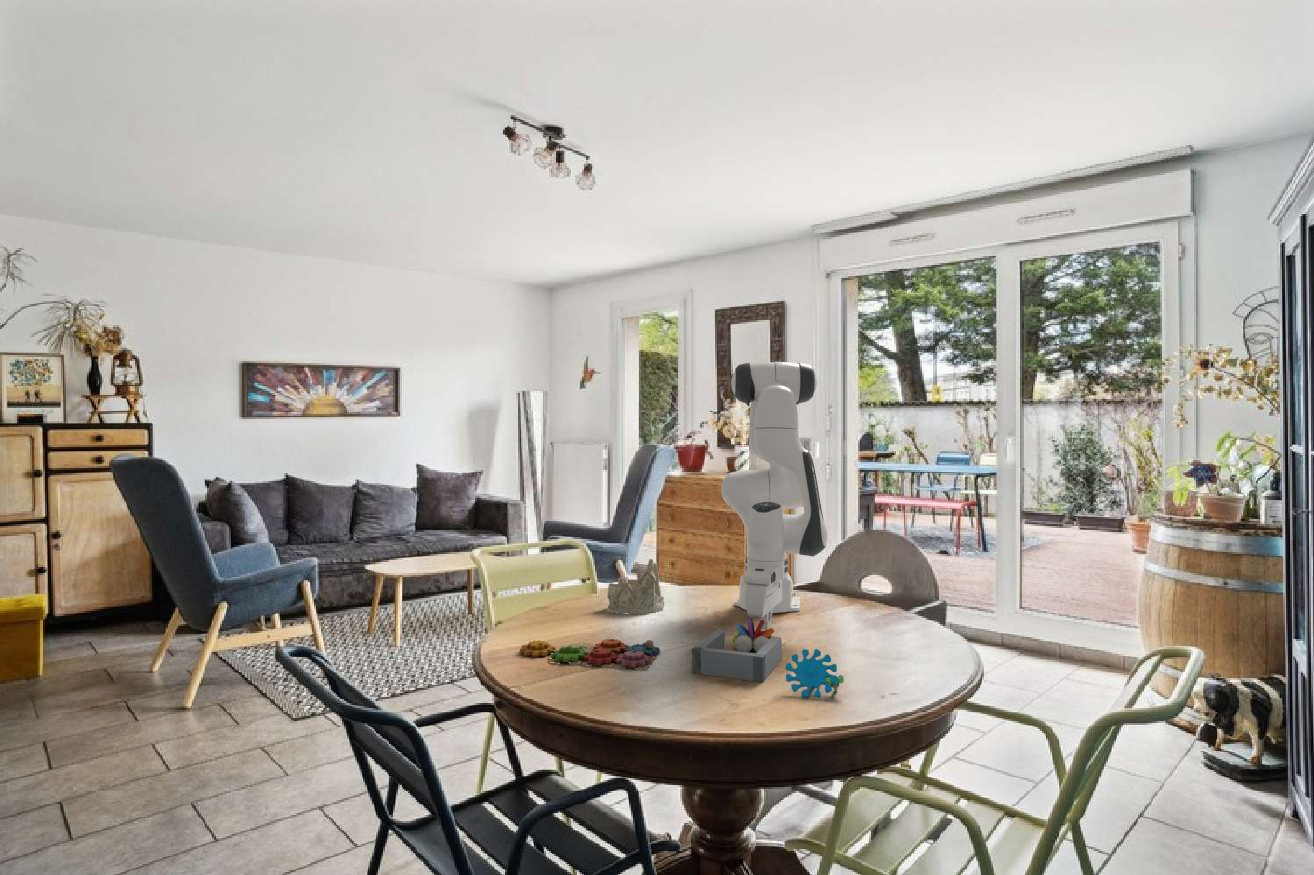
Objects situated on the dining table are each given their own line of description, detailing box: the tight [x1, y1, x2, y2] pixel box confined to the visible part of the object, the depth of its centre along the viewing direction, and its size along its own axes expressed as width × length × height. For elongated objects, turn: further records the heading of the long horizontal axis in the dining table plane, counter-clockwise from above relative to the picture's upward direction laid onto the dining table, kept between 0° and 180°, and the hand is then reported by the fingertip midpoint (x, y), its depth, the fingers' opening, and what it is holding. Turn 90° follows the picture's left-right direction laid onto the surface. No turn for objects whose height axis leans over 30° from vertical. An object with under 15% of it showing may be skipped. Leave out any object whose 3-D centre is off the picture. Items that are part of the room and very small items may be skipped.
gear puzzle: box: [519, 638, 662, 671], centre depth 171 cm, size 31×16×4 cm, turn 77°
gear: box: [784, 648, 845, 699], centre depth 148 cm, size 11×6×10 cm
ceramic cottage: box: [606, 558, 665, 615], centre depth 217 cm, size 16×16×15 cm
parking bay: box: [691, 630, 783, 683], centre depth 163 cm, size 16×15×5 cm
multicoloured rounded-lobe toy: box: [732, 617, 775, 653], centre depth 176 cm, size 8×10×7 cm
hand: (765, 628), depth 185 cm, fingers closed
